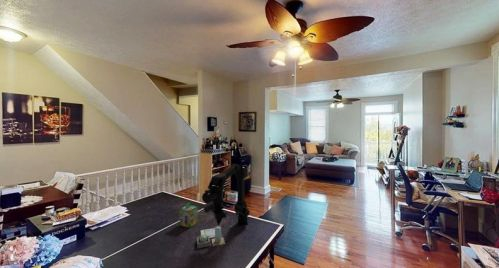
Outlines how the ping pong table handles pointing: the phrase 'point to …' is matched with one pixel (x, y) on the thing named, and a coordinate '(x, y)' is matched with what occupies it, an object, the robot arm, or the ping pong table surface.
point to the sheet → (209, 232)
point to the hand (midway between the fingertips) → (218, 223)
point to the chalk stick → (218, 234)
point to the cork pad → (218, 243)
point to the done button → (203, 238)
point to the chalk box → (188, 215)
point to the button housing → (203, 244)
